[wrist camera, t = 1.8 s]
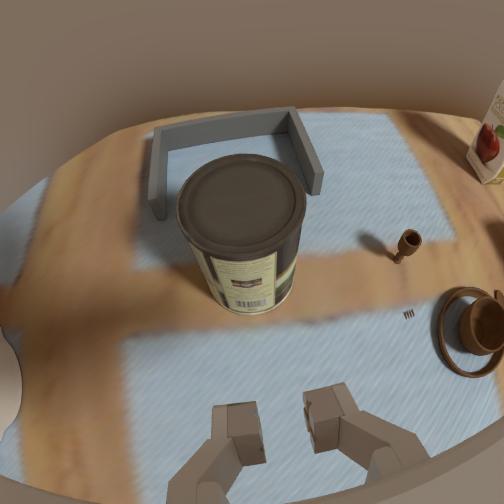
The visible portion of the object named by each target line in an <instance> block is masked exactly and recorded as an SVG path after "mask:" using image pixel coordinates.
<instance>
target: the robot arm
mask: <svg viewBox="0 0 504 504" xmlns="http://www.w3.org/2000/svg"><path fill="white" fill-rule="evenodd" d="M21 396H22V378H21V371H20V366H19V363H18V360H17V357H16V354H15V352H14V350H13V349H12V347H11V346H10V345H9V343H8V342H7V341H6V340H5V338H4V336H3V333H2V329H1V327H0V442H1V440H2V437H3V434H4V431H5V430H6V428H7V427H9V426H10V425H11V424H12V422H13V421H14V420H15V418H16V416H17V414H18V411H19V408H20V403H21ZM303 402H304V405H305V407H304V408H303V409H304V417H305V423H306V427H307V430H308V432H309V433H310V441H311V444H312V447H313V450H314V454H316V453H321V452H325V451H330V450H334V449H338V450H339V451H341V452H342V453H344V454H345V455H346V456H348V457H349V458H350V459H352V460H353V461H355V462H356V463H358V464H359V465H360V466H362V467H363V468H365V469H366V470H368V474H367V477H366V481H365V484H364V485H361V486H357V487H354V488H351V489H347V490H344V491H340V492H336V493H333V494H329V495H325V496H321V497H316V498H312V499H307V500H302V501H297V502H292V503H286V504H504V416H503V417H502V418H500V419H499V420H497V421H496V422H494V423H493V424H491V425H489V426H488V427H486V428H485V429H483V430H481V431H480V432H478V433H477V434H475V435H473V436H471V437H470V438H468V439H466V440H464V441H463V442H461V443H459V444H457V445H455V446H454V447H452V448H450V449H448V450H446V451H444V452H442V453H440V454H438V455H436V456H434V457H432V458H430V456H429V455H428V453H427V452H426V450H425V448H424V447H423V445H422V443H421V442H420V440H419V439H418V437H417V436H416V434H414V433H412V432H409V431H407V430H405V429H403V428H400V427H398V426H396V425H394V424H392V423H389V422H387V421H385V420H383V419H381V418H379V417H377V416H374V415H372V414H370V413H368V412H366V411H364V410H363V411H359V409H358V407H357V405H356V403H355V401H354V399H353V397H352V395H351V393H350V391H349V389H348V388H347V386H346V384H345V383H344V382H342V383H339V384H335V385H331V386H327V387H323V388H319V389H315V390H310V391H306V392H303ZM263 463H266V456H265V449H264V444H263V435H262V429H261V423H260V418H259V416H258V409H257V404H256V401H251V402H243V403H234V404H227V405H216V406H213V408H212V428H211V439H208V440H206V441H205V443H204V444H203V445H202V446H201V447H200V448H199V449H198V450H197V452H196V453H195V454H194V455H193V456H192V457H191V458H190V459H189V460H188V461H187V463H186V464H185V465H184V466H183V467H182V468H181V469H180V470H179V471H178V472H177V473H176V474H175V476H174V477H173V478H172V479H171V480H170V481H169V483H168V491H167V499H166V504H230V503H229V502H228V500H227V498H226V496H225V495H226V494H227V492H228V491H229V489H230V488H231V486H232V484H233V483H234V481H235V480H236V478H237V476H238V475H239V473H240V471H241V470H242V467H243V466H250V465H257V464H263ZM0 504H100V503H95V502H89V501H84V500H80V499H75V498H71V497H67V496H63V495H59V494H55V493H52V492H48V491H45V490H42V489H38V488H35V487H32V486H29V485H26V484H23V483H20V482H18V481H15V480H12V479H10V478H7V477H5V476H2V475H0Z"/></svg>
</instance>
